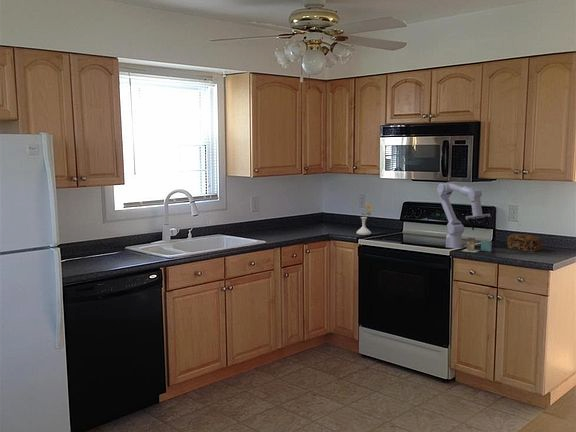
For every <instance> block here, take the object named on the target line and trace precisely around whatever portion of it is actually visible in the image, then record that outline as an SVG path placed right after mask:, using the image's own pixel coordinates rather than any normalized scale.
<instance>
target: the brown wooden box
mask: <svg viewBox="0 0 576 432" xmlns="http://www.w3.org/2000/svg"><path fill="white" fill-rule="evenodd" d="M475 243H476V238H474V237H467V238H466V249H467V251H474V250H476V249H475V246H476V245H475Z"/></svg>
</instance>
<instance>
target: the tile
mask: <svg viewBox="0 0 576 432" xmlns="http://www.w3.org/2000/svg"><path fill="white" fill-rule="evenodd" d="M480 251H483V252H492V241H491V240H481V241H480Z"/></svg>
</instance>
